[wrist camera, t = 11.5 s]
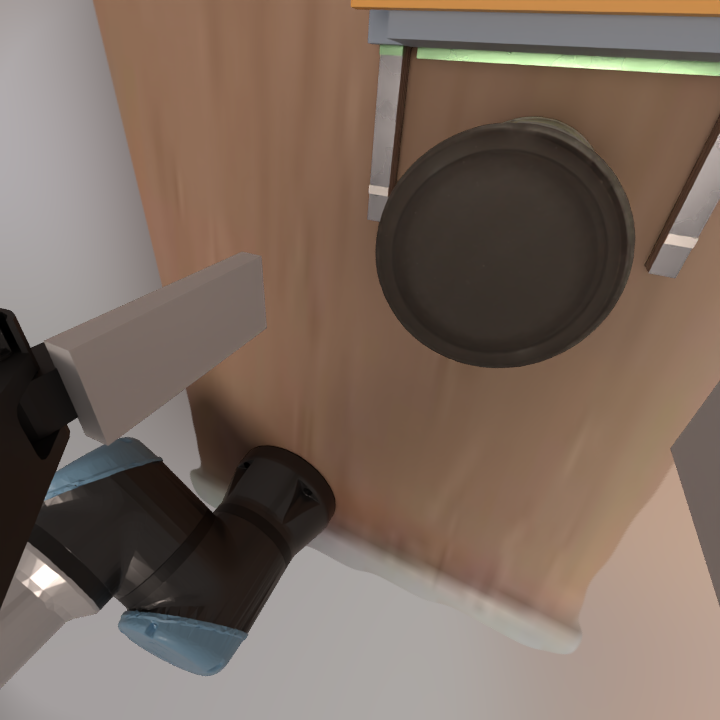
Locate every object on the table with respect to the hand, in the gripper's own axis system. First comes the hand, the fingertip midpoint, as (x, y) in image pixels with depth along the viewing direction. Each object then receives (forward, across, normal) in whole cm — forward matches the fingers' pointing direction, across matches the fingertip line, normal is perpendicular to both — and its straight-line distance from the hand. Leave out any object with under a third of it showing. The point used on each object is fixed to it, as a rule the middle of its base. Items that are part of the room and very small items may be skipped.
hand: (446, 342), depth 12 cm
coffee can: (+21, 0, 0) cm, 21 cm away
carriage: (+19, 0, +10) cm, 22 cm away
